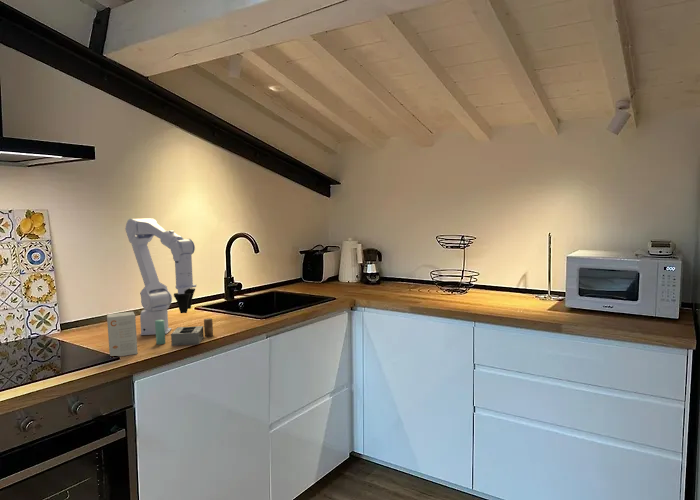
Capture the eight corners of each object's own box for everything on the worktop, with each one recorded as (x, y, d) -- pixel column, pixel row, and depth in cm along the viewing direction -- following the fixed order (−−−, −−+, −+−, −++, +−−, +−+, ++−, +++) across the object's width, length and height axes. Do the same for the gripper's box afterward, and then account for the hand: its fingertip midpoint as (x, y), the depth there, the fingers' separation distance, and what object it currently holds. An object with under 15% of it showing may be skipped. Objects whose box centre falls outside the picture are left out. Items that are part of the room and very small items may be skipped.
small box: (135, 349, 167) (133, 311, 166) (137, 354, 161) (135, 314, 160) (109, 353, 163) (106, 313, 162) (110, 358, 157) (107, 317, 156)
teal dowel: (155, 344, 172) (154, 321, 172) (157, 342, 175) (156, 320, 175) (164, 344, 173) (163, 321, 172) (166, 342, 176) (165, 319, 175)
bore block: (171, 345, 171) (171, 334, 170) (178, 338, 180) (177, 327, 180) (198, 344, 172) (198, 332, 171) (203, 337, 182) (203, 326, 181)
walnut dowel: (203, 336, 182) (203, 320, 182) (205, 334, 185) (204, 318, 185) (212, 336, 182) (211, 320, 182) (213, 334, 185) (212, 318, 185)
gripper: (192, 275, 172) (193, 314, 173) (198, 270, 186) (200, 306, 188) (170, 276, 171) (172, 315, 172) (178, 271, 185) (180, 307, 187)
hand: (185, 310), depth 180 cm, fingers open, 7 cm apart
